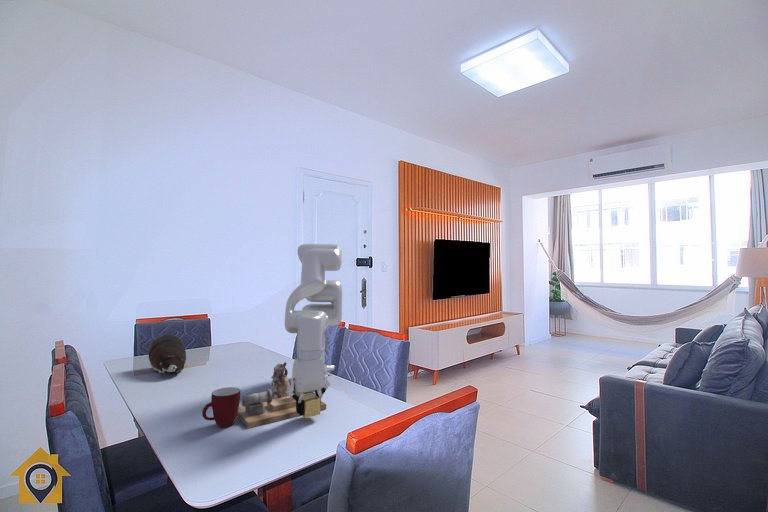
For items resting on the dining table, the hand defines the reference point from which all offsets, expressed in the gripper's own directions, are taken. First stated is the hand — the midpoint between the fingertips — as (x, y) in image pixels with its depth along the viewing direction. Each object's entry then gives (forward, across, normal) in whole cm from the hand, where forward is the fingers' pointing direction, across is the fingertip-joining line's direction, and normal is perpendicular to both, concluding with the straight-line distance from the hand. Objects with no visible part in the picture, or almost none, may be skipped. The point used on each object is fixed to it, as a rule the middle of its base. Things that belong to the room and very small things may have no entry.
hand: (308, 411), depth 118 cm
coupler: (+1, 0, 0) cm, 1 cm away
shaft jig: (+3, +4, -11) cm, 12 cm away
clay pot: (+5, +28, -82) cm, 87 cm away
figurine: (+3, -1, -25) cm, 25 cm away
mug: (+3, +23, -10) cm, 26 cm away
